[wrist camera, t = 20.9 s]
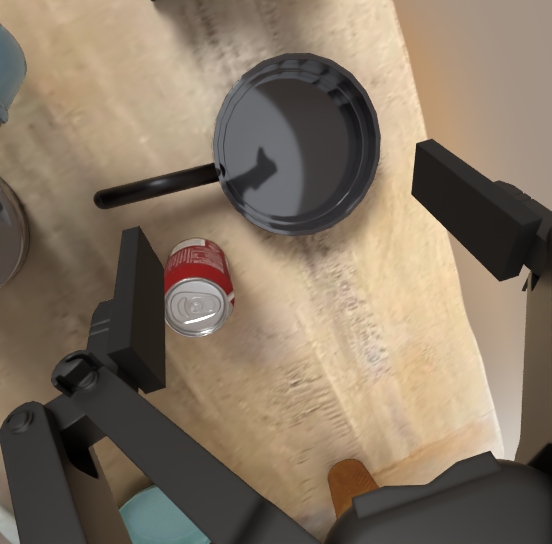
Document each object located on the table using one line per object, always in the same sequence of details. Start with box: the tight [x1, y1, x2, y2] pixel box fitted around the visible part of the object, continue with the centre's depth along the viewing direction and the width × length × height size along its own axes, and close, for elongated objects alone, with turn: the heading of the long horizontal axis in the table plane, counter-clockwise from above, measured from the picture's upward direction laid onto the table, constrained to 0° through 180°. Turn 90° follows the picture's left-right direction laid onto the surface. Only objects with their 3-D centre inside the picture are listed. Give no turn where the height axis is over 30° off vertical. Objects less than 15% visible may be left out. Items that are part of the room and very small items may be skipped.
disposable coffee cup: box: [328, 459, 379, 519], centre depth 51 cm, size 10×10×12 cm
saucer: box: [119, 485, 211, 544], centre depth 51 cm, size 15×15×3 cm
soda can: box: [164, 238, 235, 338], centre depth 35 cm, size 7×7×12 cm
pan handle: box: [94, 163, 226, 209], centre depth 34 cm, size 13×2×2 cm, turn 103°
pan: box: [212, 53, 381, 236], centre depth 37 cm, size 17×17×4 cm
